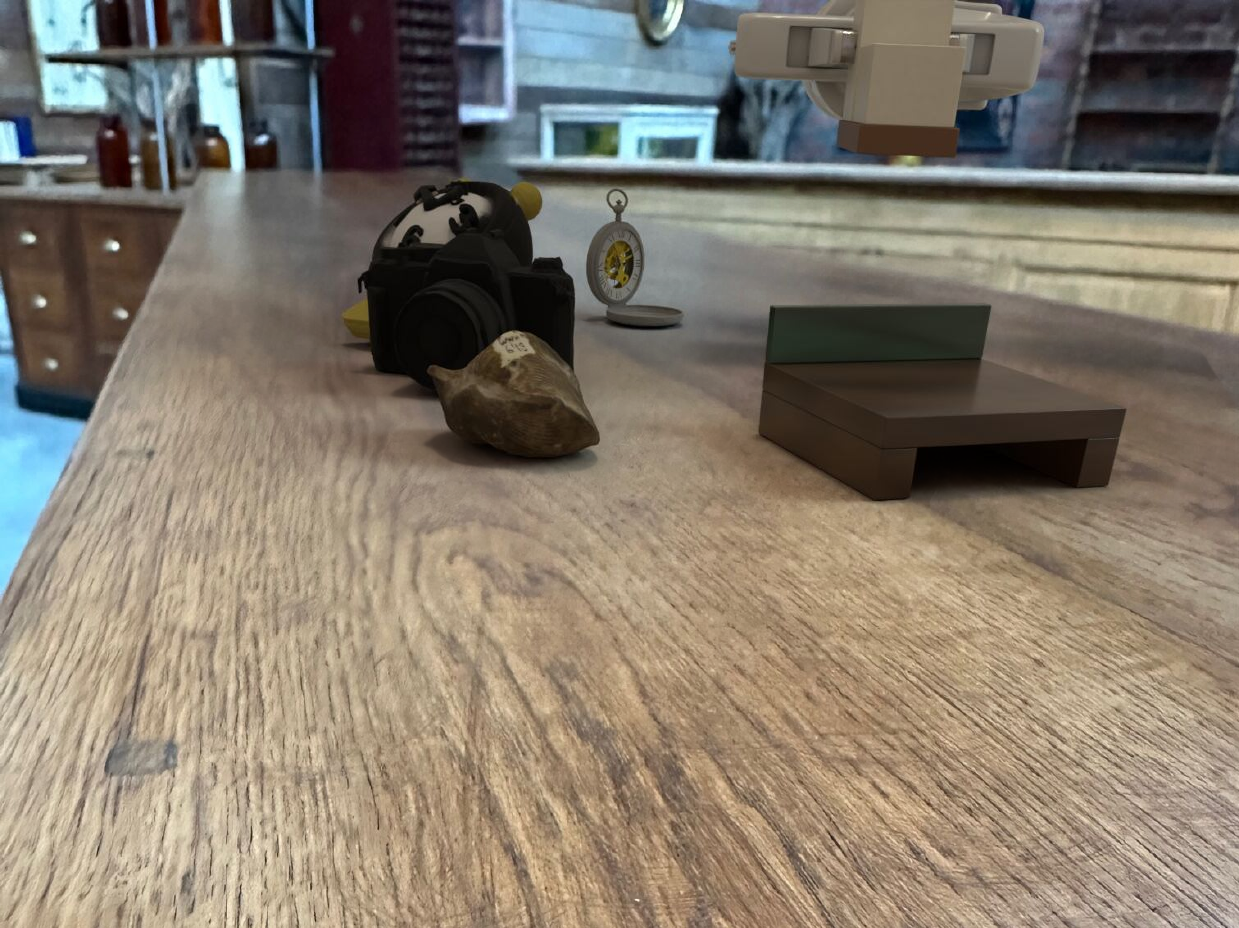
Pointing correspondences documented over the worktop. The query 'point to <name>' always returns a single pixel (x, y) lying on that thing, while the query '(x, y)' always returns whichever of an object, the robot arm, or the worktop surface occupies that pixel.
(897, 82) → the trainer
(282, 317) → the worktop surface
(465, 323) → the film camera
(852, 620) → the worktop surface
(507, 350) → the fossilized seashell
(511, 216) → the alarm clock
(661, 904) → the worktop surface
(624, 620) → the worktop surface
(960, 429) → the low wooden bench
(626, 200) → the pocket watch
